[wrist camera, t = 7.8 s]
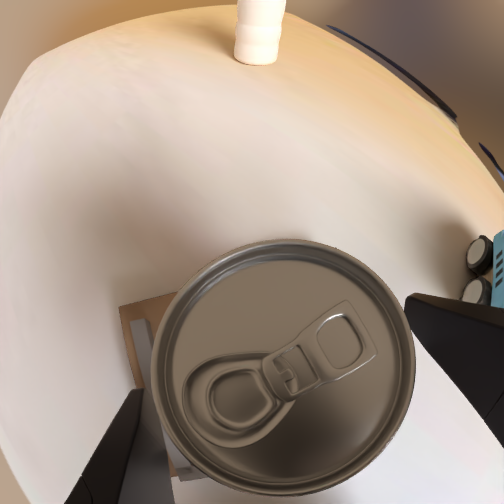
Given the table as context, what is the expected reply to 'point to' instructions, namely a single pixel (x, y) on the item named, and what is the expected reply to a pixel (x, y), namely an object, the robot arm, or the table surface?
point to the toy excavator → (486, 271)
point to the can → (283, 368)
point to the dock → (140, 353)
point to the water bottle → (258, 31)
